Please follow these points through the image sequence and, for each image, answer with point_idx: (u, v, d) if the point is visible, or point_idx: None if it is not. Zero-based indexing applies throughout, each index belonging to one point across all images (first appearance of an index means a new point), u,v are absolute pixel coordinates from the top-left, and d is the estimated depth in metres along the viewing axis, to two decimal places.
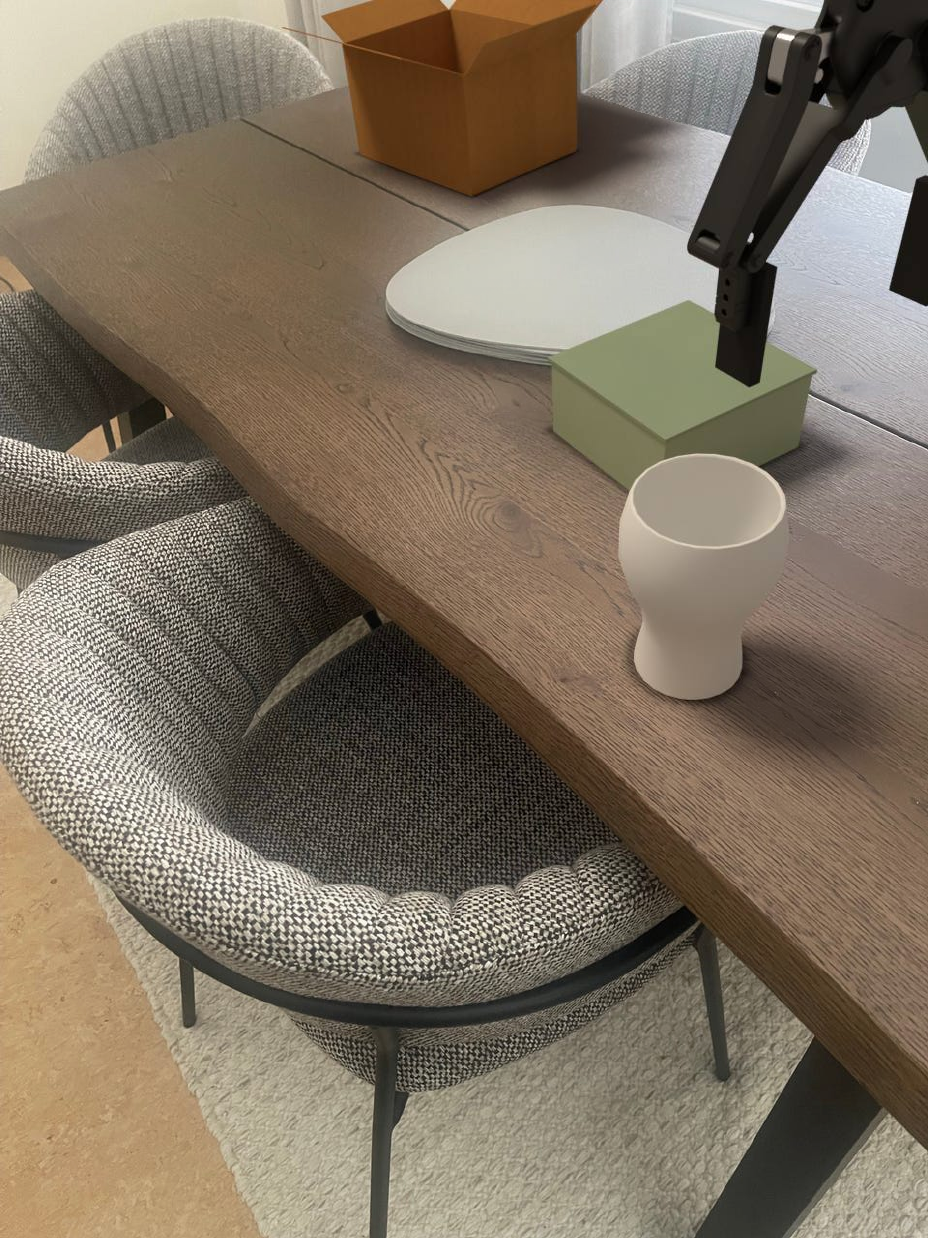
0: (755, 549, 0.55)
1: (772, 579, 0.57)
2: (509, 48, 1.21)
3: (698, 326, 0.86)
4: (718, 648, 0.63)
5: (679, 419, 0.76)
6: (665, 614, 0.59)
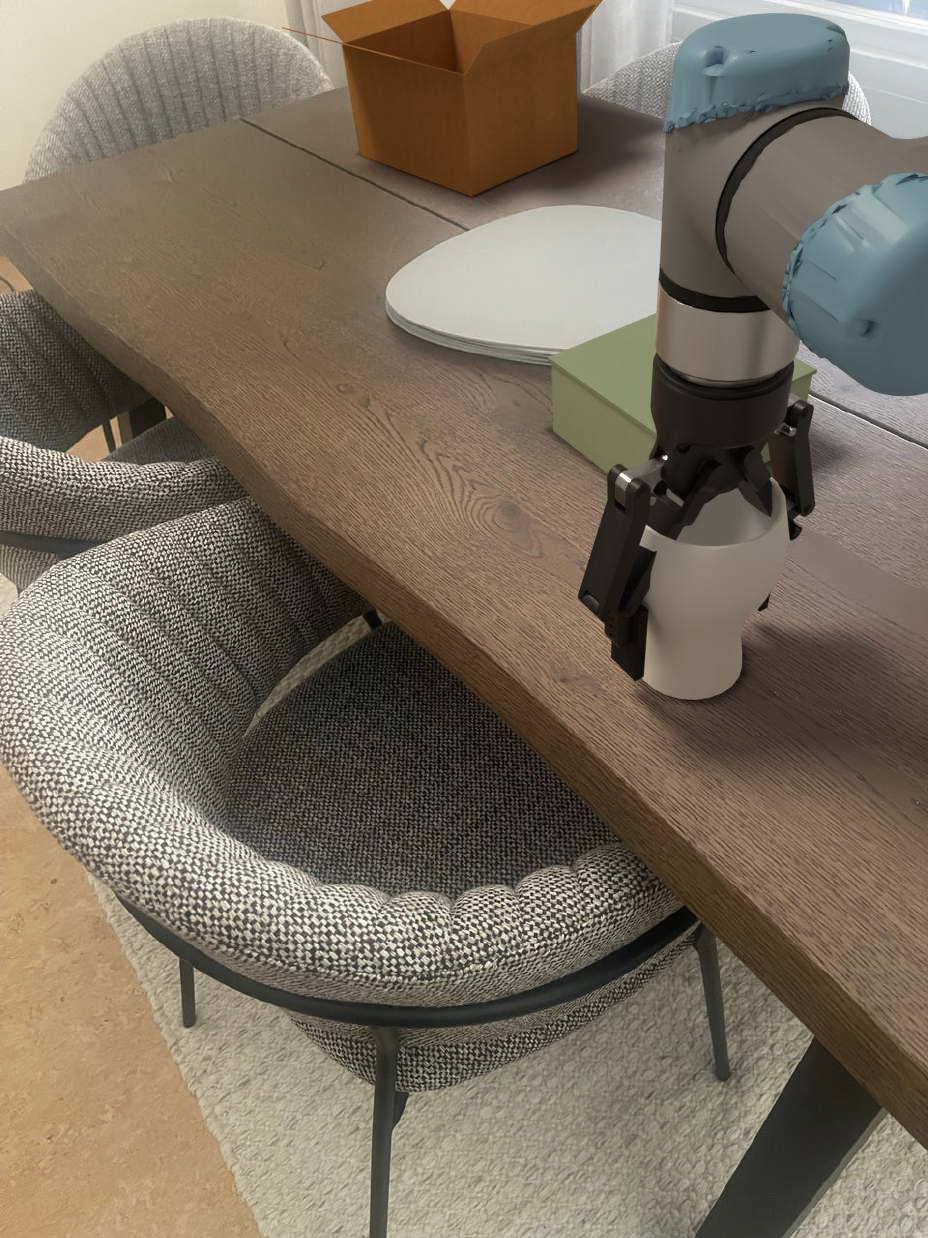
0: (755, 549, 0.55)
1: (772, 578, 0.57)
2: (509, 48, 1.21)
3: None
4: (718, 648, 0.63)
5: None
6: (665, 614, 0.59)
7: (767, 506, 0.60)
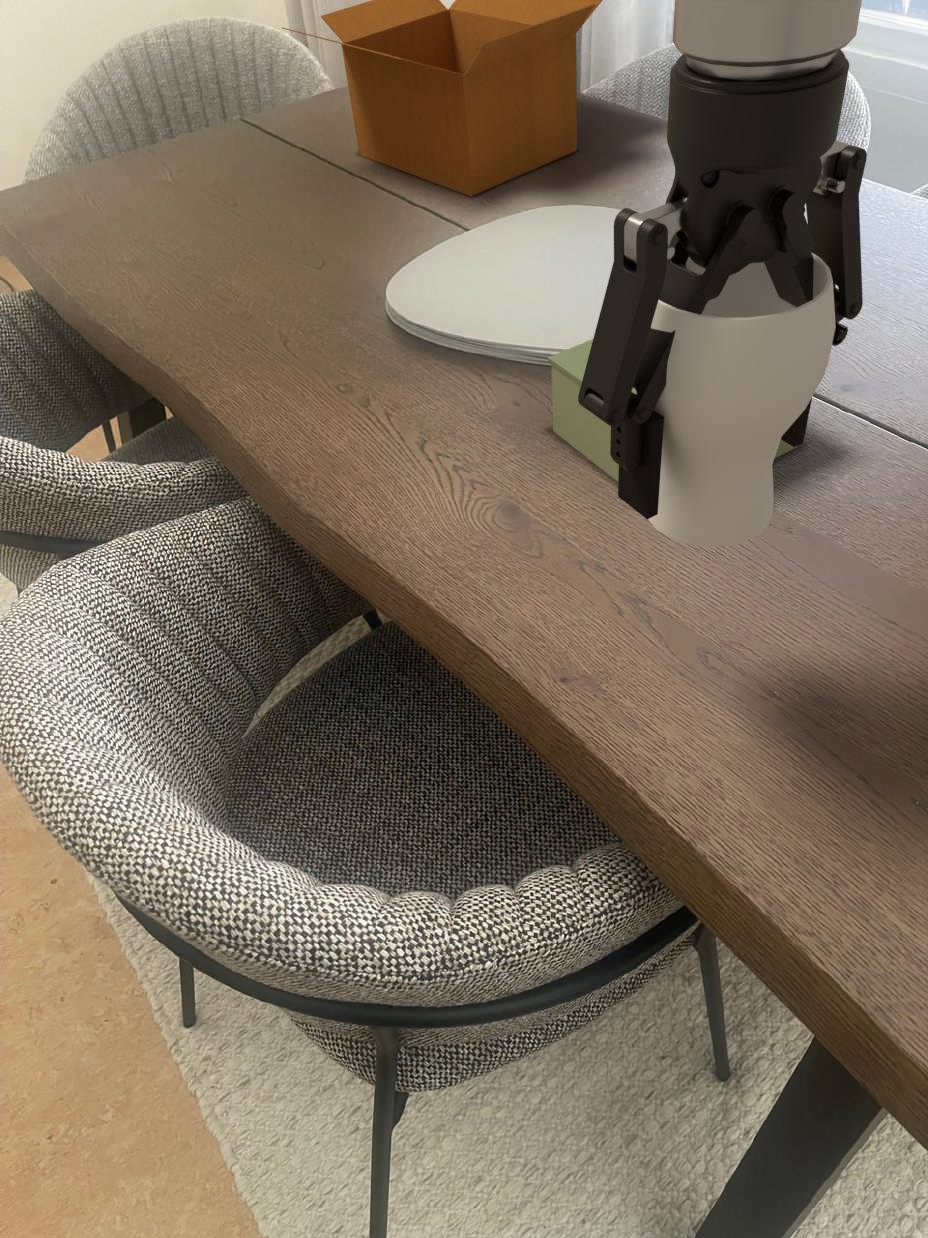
0: (796, 322, 0.45)
1: (815, 371, 0.47)
2: (509, 48, 1.21)
3: None
4: (746, 476, 0.52)
5: None
6: (683, 422, 0.49)
7: (807, 293, 0.49)
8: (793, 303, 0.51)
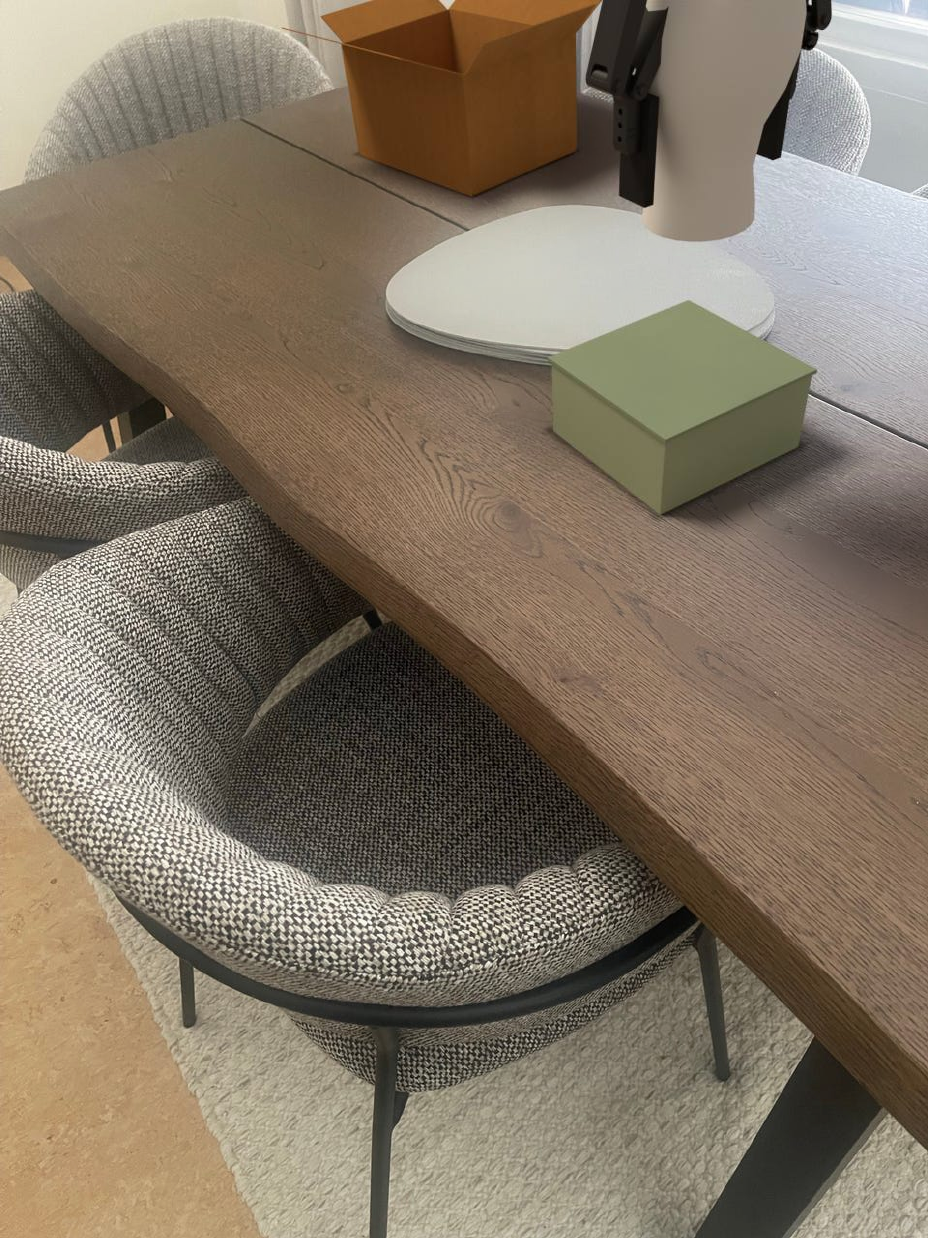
0: None
1: (789, 46, 0.55)
2: (509, 48, 1.21)
3: (698, 326, 0.86)
4: (730, 165, 0.60)
5: (679, 419, 0.76)
6: (676, 101, 0.57)
7: None
8: None
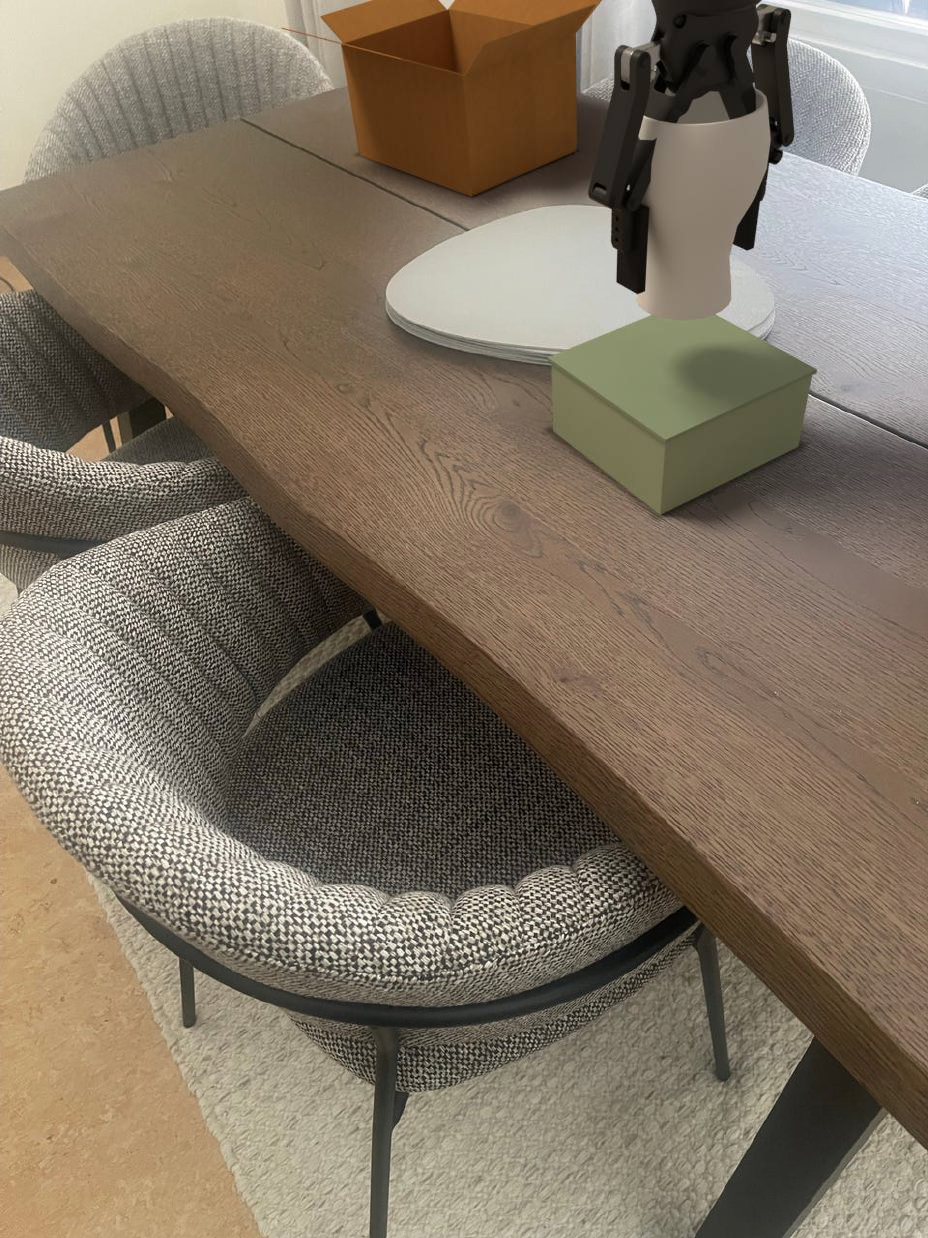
0: (740, 128, 0.64)
1: (755, 169, 0.67)
2: (509, 48, 1.21)
3: (698, 326, 0.86)
4: (709, 259, 0.72)
5: (679, 419, 0.76)
6: (663, 210, 0.69)
7: None
8: None
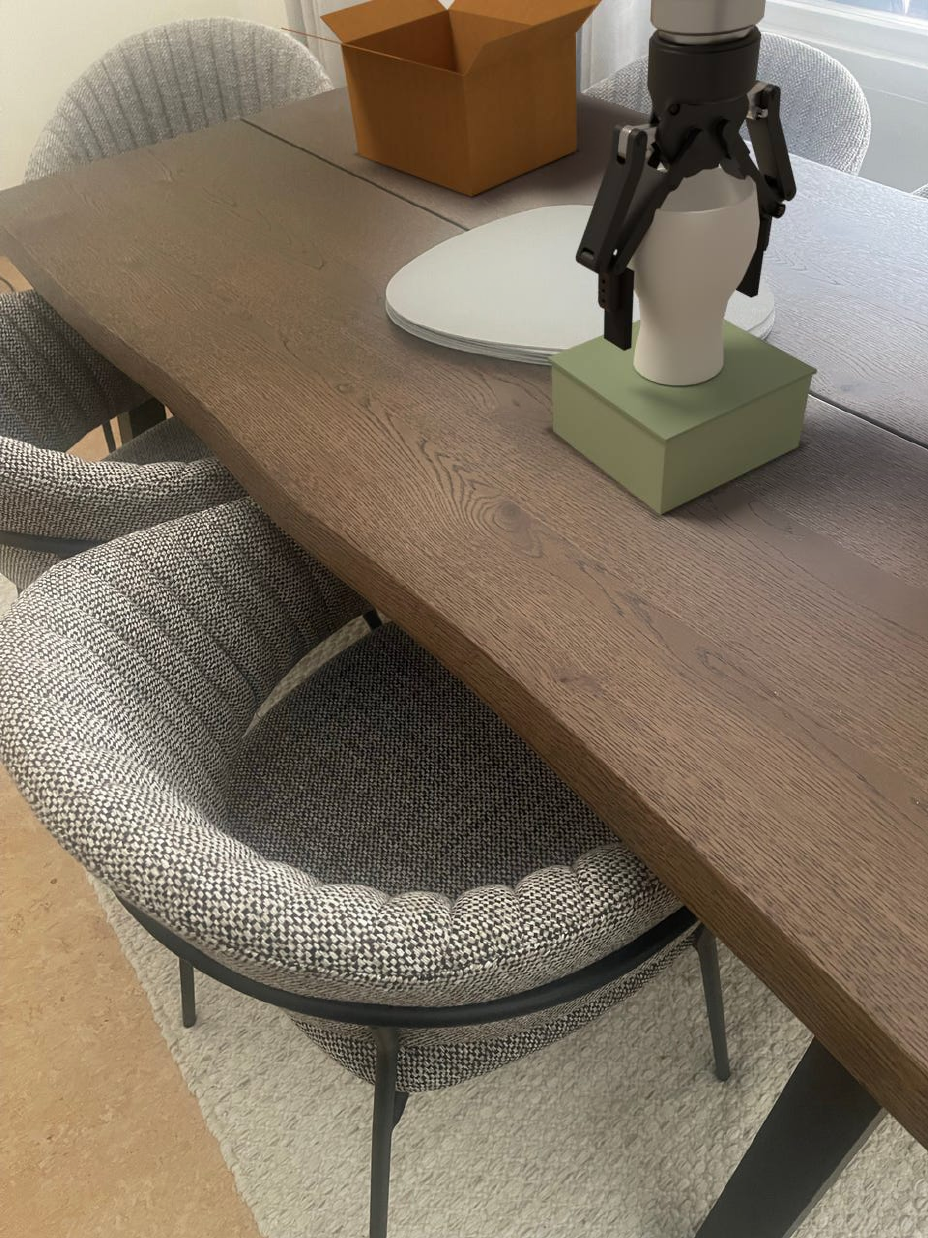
0: (730, 215, 0.69)
1: (745, 250, 0.71)
2: (508, 48, 1.21)
3: None
4: (702, 330, 0.76)
5: (679, 419, 0.76)
6: (658, 288, 0.73)
7: None
8: None
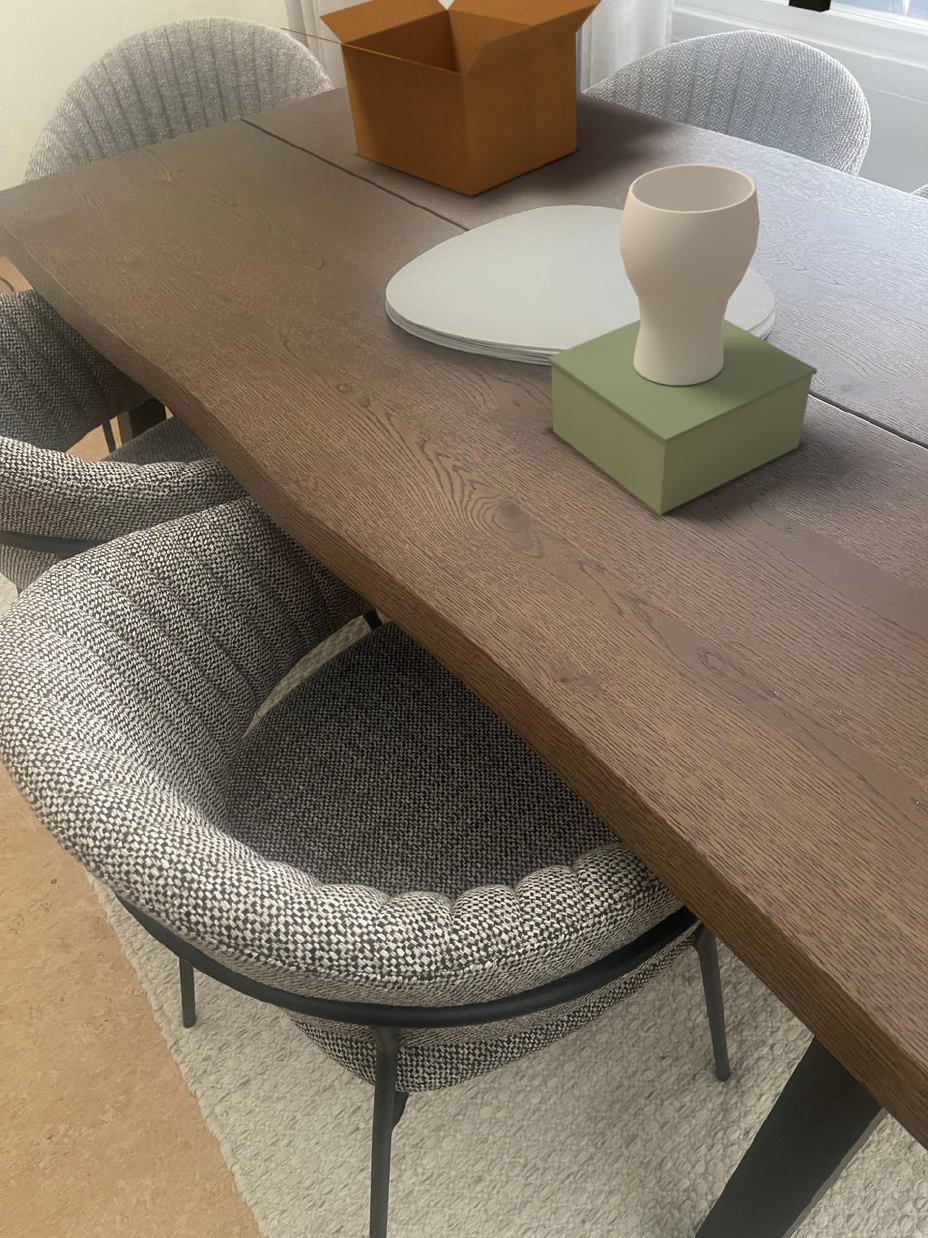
0: (730, 215, 0.69)
1: (745, 250, 0.71)
2: (508, 48, 1.21)
3: None
4: (702, 330, 0.76)
5: (679, 419, 0.76)
6: (658, 288, 0.73)
7: None
8: None
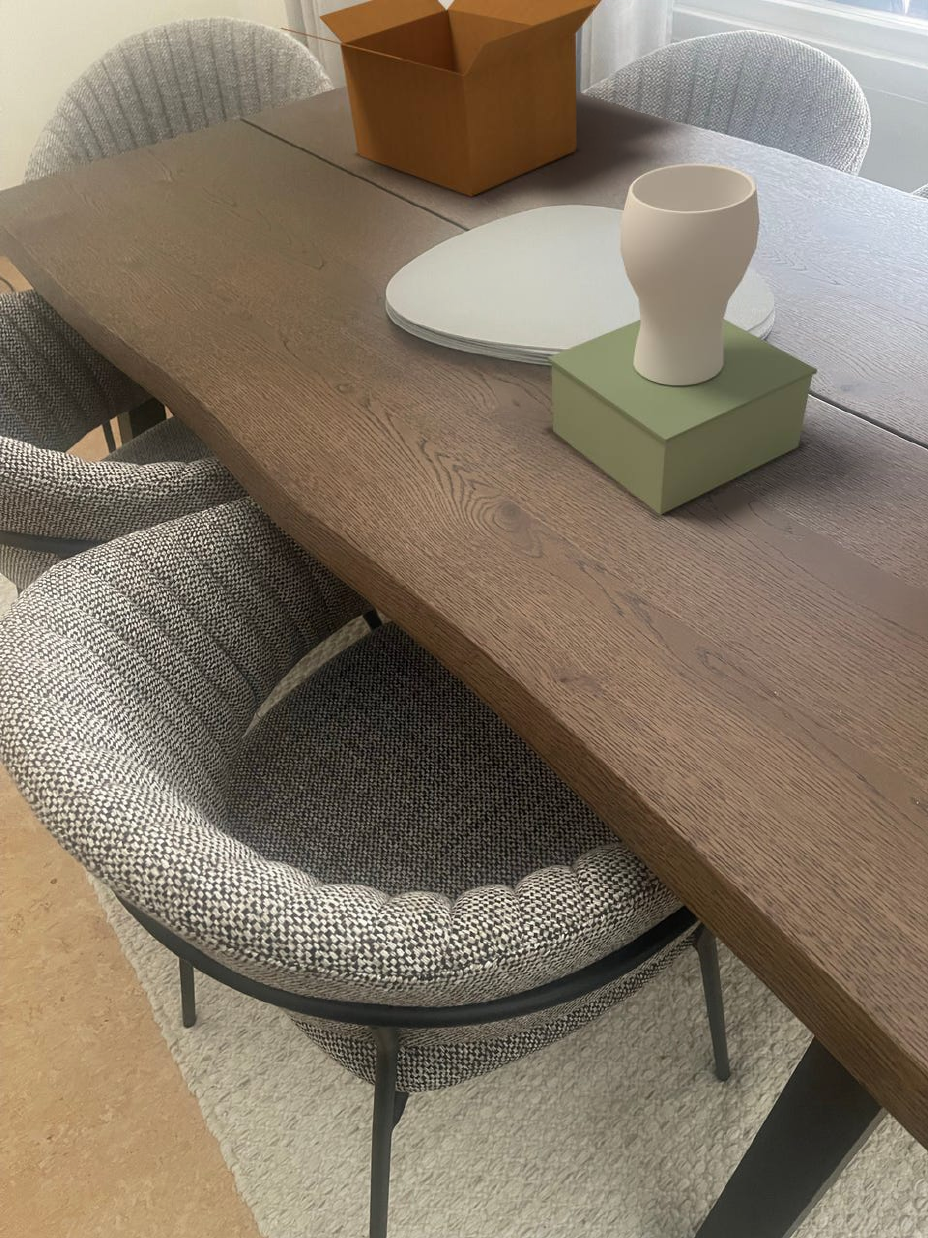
0: (730, 215, 0.69)
1: (745, 250, 0.71)
2: (508, 48, 1.21)
3: None
4: (702, 330, 0.76)
5: (679, 419, 0.76)
6: (658, 288, 0.73)
7: None
8: None
